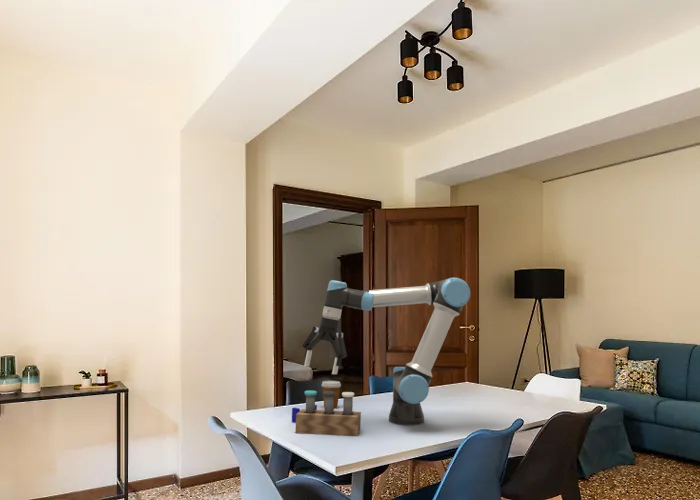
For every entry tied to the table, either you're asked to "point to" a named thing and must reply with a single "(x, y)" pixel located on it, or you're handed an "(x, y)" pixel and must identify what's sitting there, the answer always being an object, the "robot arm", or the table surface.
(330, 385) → the disposable coffee cup
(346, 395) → the plug grey
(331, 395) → the plug black
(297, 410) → the blue u-shaped block
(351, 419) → the socket block
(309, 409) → the plug teal
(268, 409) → the table surface
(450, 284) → the robot arm
